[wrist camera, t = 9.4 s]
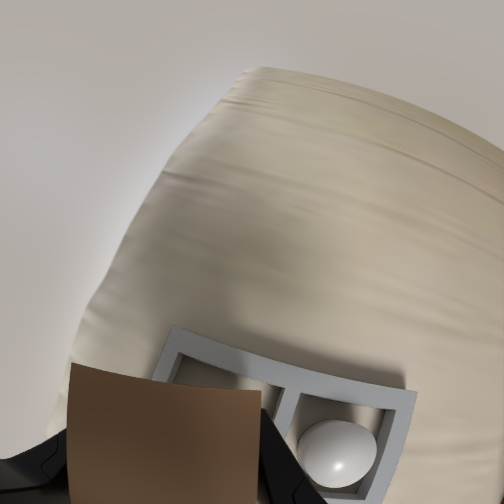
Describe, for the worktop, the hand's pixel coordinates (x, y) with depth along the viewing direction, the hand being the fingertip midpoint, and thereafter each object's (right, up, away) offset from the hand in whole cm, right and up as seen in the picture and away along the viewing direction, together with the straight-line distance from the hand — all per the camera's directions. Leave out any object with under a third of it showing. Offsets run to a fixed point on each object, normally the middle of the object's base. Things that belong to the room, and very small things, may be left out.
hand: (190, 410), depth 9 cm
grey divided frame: (+4, -6, +7) cm, 10 cm away
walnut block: (0, -4, +5) cm, 7 cm away
